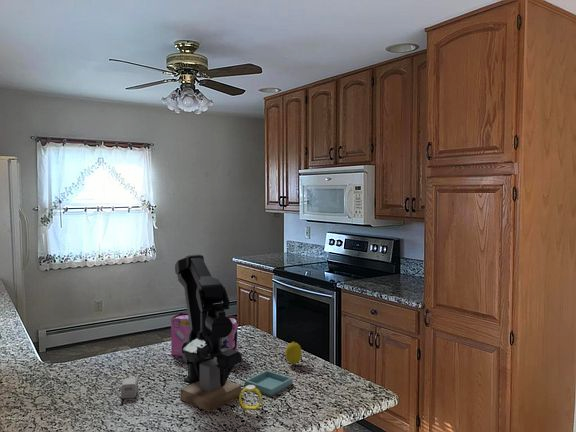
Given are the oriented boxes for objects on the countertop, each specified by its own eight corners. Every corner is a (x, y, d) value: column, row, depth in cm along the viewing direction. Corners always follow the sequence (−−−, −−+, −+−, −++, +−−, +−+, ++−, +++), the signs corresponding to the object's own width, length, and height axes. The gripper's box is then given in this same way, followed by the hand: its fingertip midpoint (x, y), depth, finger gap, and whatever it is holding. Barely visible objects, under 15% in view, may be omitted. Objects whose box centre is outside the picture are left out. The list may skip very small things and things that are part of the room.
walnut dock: (180, 399, 127) (180, 388, 127) (211, 384, 136) (211, 375, 136) (210, 411, 120) (210, 400, 119) (241, 395, 129) (241, 385, 129)
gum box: (241, 354, 163) (241, 316, 162) (233, 361, 155) (233, 323, 155) (180, 348, 169) (180, 312, 168) (170, 355, 161) (170, 317, 160)
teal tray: (244, 387, 135) (244, 380, 135) (266, 376, 143) (266, 370, 143) (271, 396, 129) (271, 389, 129) (292, 384, 137) (292, 378, 137)
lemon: (300, 368, 149) (300, 344, 149) (283, 367, 151) (283, 343, 150) (302, 362, 155) (303, 339, 154) (287, 361, 156) (287, 338, 156)
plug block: (199, 388, 127) (199, 363, 127) (212, 382, 131) (212, 358, 131) (209, 392, 125) (209, 367, 124) (222, 386, 129) (222, 361, 128)
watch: (239, 411, 121) (237, 389, 121) (241, 406, 124) (239, 385, 123) (261, 410, 120) (259, 388, 120) (262, 405, 123) (261, 384, 123)
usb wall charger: (121, 398, 127) (120, 384, 127) (124, 388, 134) (124, 375, 134) (135, 397, 128) (135, 383, 128) (139, 387, 135) (138, 374, 134)
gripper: (166, 328, 126) (166, 382, 127) (213, 341, 115) (213, 401, 116) (196, 319, 135) (197, 370, 136) (242, 331, 124) (242, 386, 125)
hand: (211, 381), depth 128 cm, fingers open, 9 cm apart
